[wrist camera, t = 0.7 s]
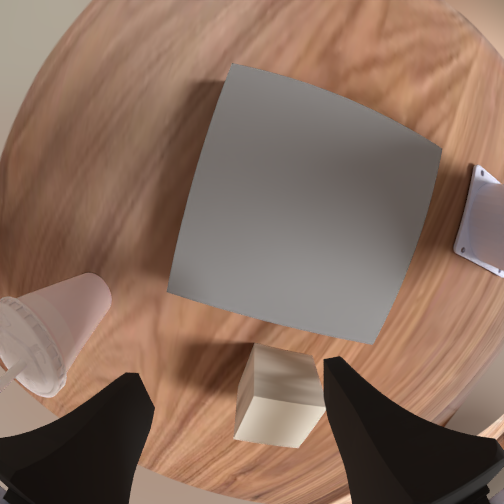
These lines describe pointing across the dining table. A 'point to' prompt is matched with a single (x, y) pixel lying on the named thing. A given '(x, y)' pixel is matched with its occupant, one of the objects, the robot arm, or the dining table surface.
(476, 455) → the robot arm
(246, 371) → the cream cube
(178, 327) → the dining table surface
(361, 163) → the plinth
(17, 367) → the smoothie
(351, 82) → the dining table surface
